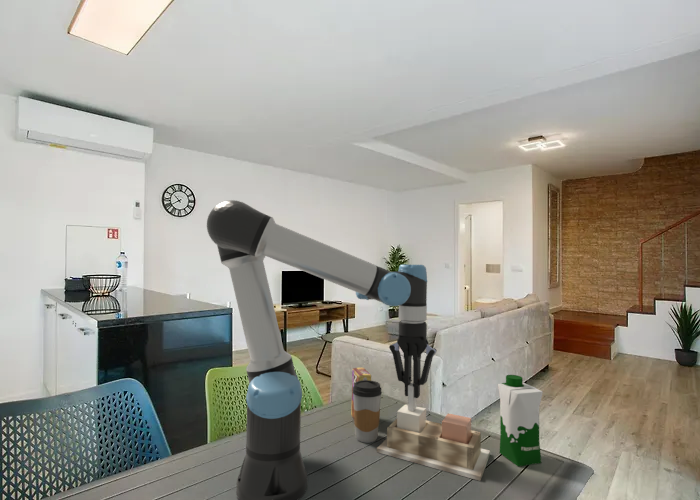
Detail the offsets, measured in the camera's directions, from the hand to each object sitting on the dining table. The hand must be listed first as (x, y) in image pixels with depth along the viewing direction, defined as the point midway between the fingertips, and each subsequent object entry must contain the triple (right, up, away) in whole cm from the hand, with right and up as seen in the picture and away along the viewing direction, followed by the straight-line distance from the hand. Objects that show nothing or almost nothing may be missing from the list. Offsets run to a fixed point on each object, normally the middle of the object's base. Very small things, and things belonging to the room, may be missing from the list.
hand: (412, 408), depth 102 cm
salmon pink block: (+10, -7, -6) cm, 14 cm away
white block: (0, -7, 0) cm, 7 cm away
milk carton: (+27, -11, -5) cm, 29 cm away
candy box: (-13, -11, +17) cm, 24 cm away
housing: (+5, -10, -3) cm, 12 cm away
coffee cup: (-12, -11, +5) cm, 17 cm away
